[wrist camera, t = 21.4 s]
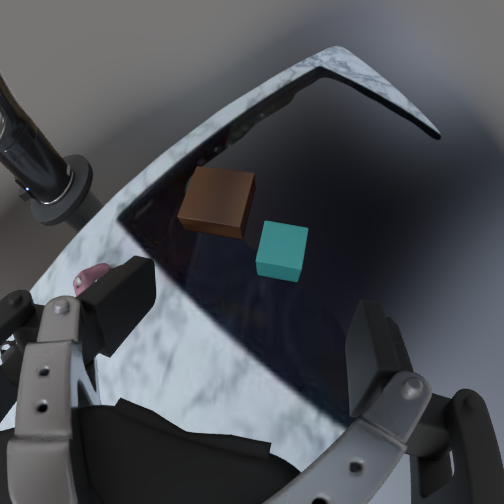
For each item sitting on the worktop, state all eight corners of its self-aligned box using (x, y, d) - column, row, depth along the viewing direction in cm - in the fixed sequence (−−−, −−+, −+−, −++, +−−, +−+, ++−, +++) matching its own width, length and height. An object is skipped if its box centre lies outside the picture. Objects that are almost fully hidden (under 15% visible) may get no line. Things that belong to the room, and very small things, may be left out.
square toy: (257, 274, 39) (255, 261, 34) (265, 238, 41) (264, 220, 35) (297, 282, 38) (301, 269, 33) (303, 245, 40) (308, 228, 35)
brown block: (184, 229, 42) (177, 216, 38) (201, 181, 45) (196, 166, 41) (242, 239, 41) (240, 226, 37) (255, 188, 44) (254, 172, 40)
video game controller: (98, 280, 41) (63, 281, 35) (109, 260, 40) (73, 259, 34) (127, 328, 38) (91, 335, 32) (140, 309, 37) (102, 314, 31)
